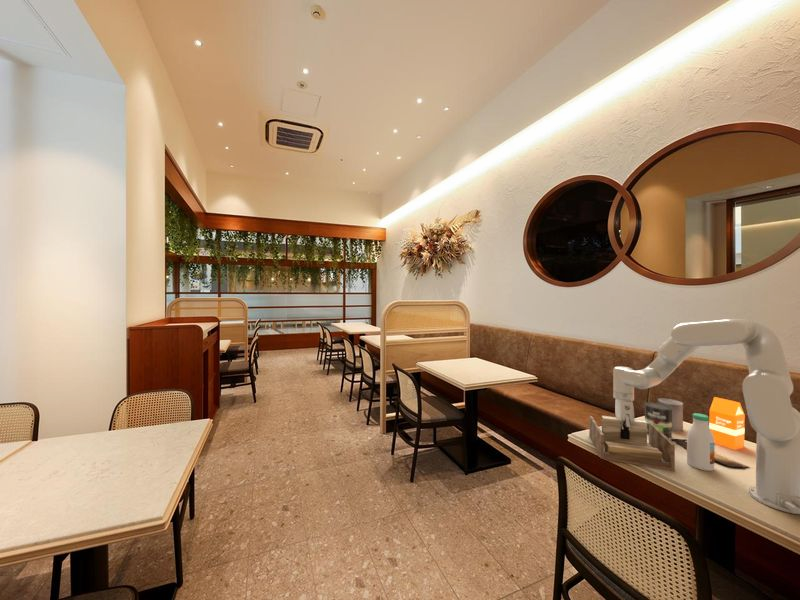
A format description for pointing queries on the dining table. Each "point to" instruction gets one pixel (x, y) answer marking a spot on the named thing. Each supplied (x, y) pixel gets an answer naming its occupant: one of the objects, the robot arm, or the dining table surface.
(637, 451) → the offcut upper
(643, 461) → the rack
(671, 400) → the pillar candle
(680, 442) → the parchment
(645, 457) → the offcut lower
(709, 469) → the milk bottle
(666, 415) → the coffee can
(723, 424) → the orange juice
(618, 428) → the birch panel
